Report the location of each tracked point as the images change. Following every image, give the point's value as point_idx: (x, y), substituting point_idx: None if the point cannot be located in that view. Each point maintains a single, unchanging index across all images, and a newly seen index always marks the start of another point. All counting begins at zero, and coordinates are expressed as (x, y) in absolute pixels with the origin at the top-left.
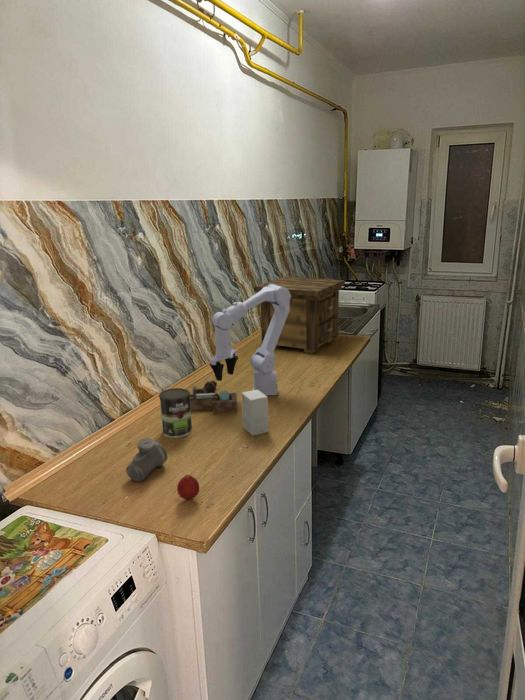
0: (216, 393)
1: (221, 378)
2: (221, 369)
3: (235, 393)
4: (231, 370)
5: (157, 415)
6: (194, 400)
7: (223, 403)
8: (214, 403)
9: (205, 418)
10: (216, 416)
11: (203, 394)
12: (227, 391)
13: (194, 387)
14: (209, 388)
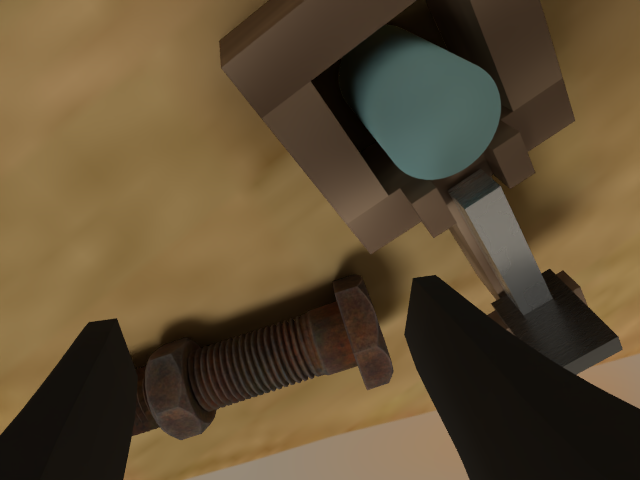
0: (431, 206)
1: (448, 292)
2: (611, 421)
3: (249, 68)
4: (103, 389)
5: (609, 324)
6: None
7: (537, 18)
8: (563, 101)
9: (625, 68)
10: (578, 8)
11: (524, 267)
12: (388, 116)
13: (578, 366)
14: (237, 363)
